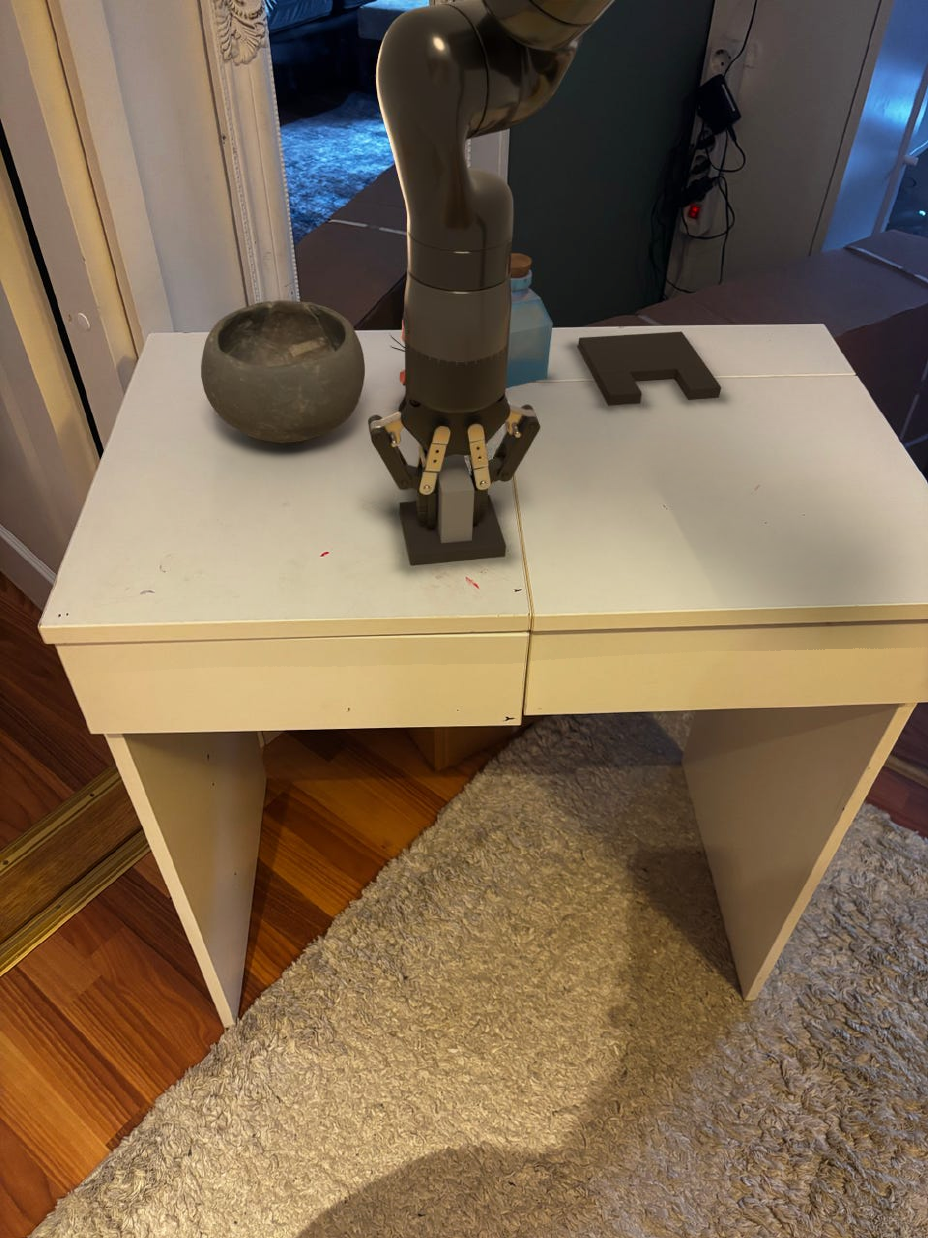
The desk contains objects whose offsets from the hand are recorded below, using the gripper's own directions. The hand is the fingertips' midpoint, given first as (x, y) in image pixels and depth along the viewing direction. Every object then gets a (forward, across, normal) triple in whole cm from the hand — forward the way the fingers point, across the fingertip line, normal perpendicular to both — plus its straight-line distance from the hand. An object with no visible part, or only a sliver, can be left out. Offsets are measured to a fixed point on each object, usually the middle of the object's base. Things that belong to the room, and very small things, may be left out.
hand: (451, 519), depth 79 cm
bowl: (+2, -13, +18) cm, 22 cm away
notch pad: (+2, +26, +24) cm, 35 cm away
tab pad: (+2, 0, +2) cm, 2 cm away
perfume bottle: (+2, +11, +26) cm, 28 cm away
